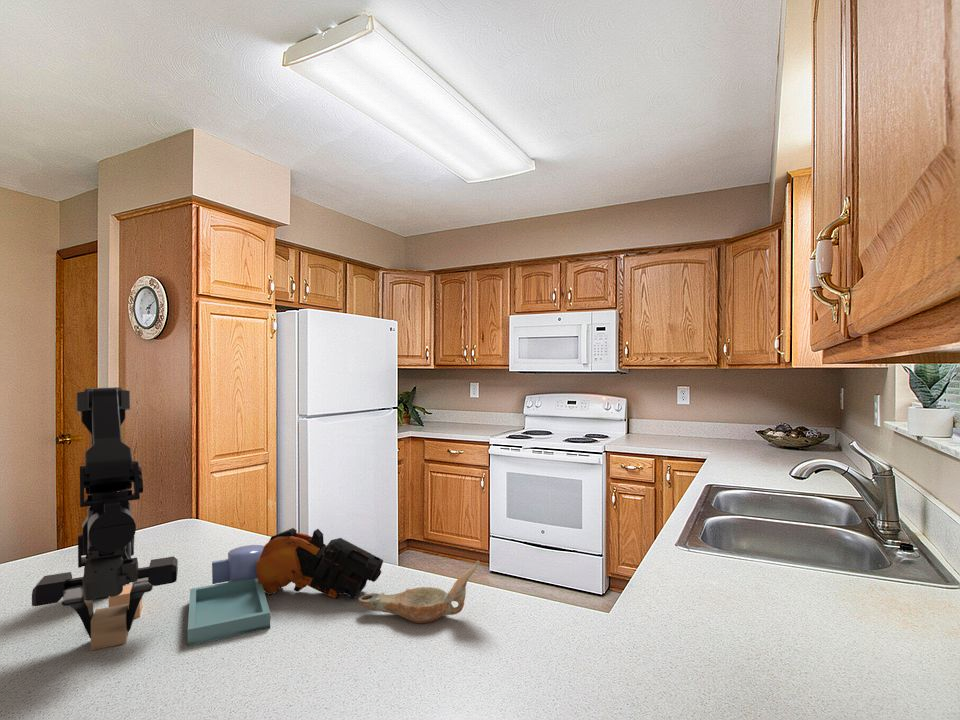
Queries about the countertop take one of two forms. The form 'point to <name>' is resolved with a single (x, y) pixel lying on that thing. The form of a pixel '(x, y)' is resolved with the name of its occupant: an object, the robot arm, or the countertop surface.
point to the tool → (315, 564)
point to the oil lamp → (421, 601)
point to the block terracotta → (125, 600)
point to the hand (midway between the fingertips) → (110, 633)
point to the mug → (237, 564)
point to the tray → (227, 610)
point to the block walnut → (109, 626)
